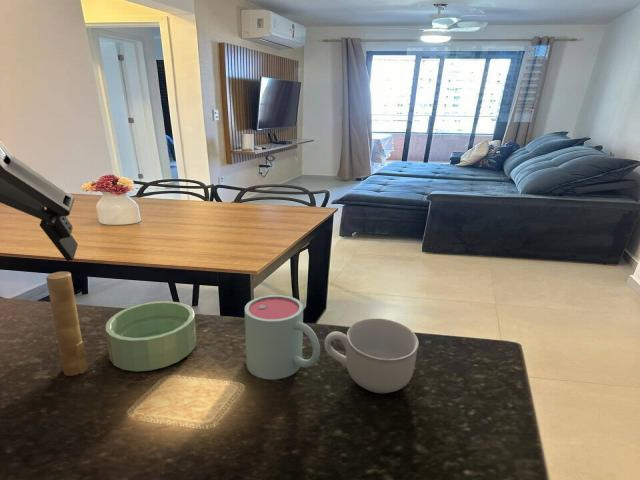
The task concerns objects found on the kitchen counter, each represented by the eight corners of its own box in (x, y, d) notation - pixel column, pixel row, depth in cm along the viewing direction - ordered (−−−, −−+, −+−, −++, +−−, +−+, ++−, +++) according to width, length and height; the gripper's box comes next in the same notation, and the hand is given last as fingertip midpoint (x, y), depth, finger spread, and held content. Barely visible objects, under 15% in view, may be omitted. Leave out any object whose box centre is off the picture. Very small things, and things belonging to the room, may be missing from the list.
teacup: (417, 368, 63) (421, 325, 60) (409, 413, 53) (415, 362, 50) (335, 351, 67) (337, 310, 65) (315, 389, 57) (316, 342, 55)
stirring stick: (57, 374, 59) (38, 277, 54) (73, 362, 61) (57, 270, 57) (77, 377, 58) (60, 280, 53) (92, 366, 61) (77, 272, 56)
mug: (234, 364, 62) (232, 308, 59) (273, 340, 69) (273, 290, 67) (298, 400, 54) (299, 338, 52) (335, 369, 62) (338, 314, 59)
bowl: (92, 358, 63) (86, 325, 61) (159, 323, 74) (156, 295, 73) (148, 384, 57) (144, 349, 55) (212, 342, 68) (211, 312, 67)
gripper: (-358, 142, 28) (-115, 300, 44) (15, 113, 31) (114, 268, 47) (-275, 92, 33) (-83, 251, 49) (40, 72, 36) (123, 225, 52)
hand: (14, 260), depth 48 cm, fingers open, 13 cm apart
